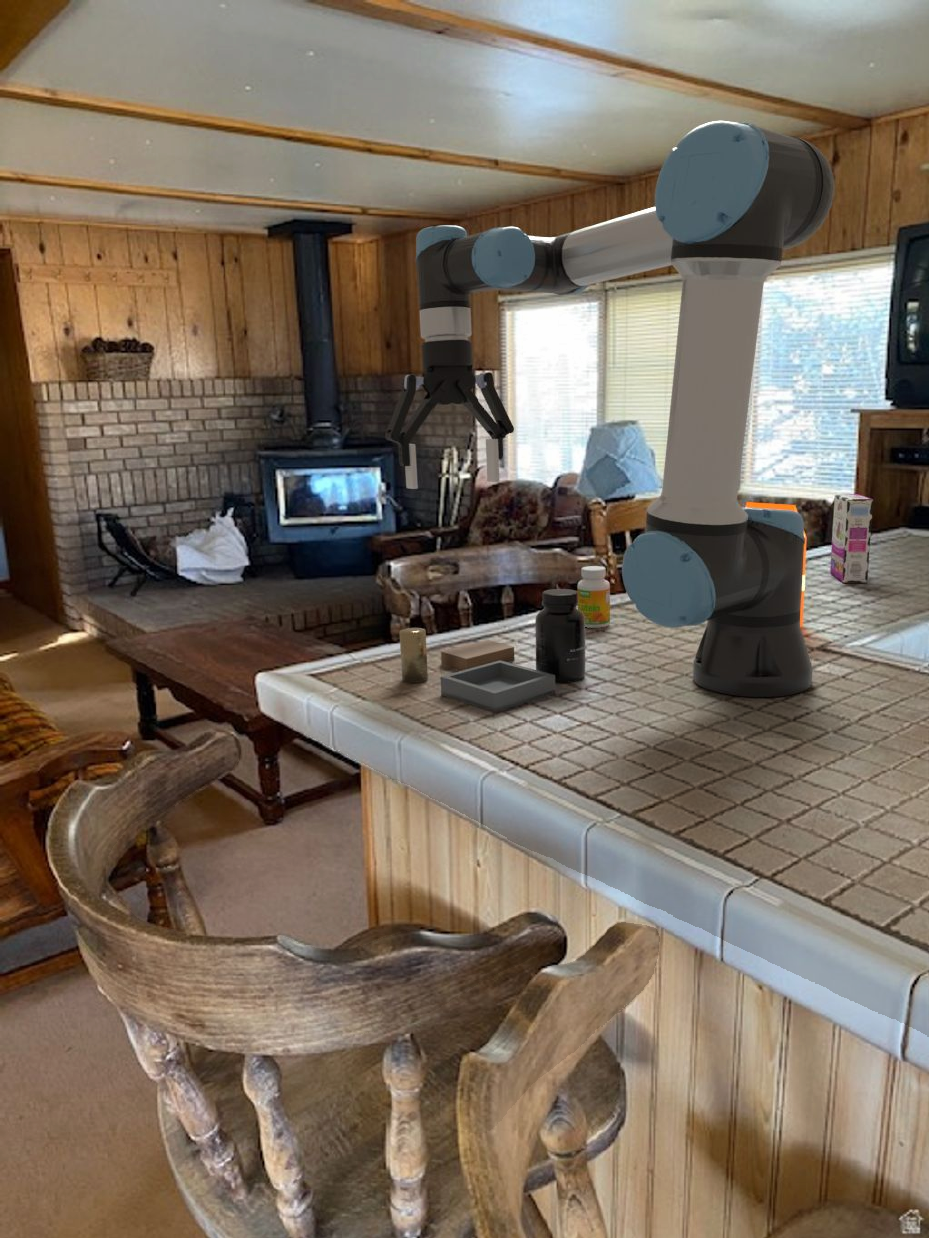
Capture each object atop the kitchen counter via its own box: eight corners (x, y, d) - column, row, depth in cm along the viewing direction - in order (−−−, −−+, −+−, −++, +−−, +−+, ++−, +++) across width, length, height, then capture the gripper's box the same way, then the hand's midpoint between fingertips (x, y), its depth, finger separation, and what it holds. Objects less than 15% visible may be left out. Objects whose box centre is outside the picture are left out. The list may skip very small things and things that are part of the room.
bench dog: (433, 679, 132) (430, 630, 131) (412, 684, 130) (409, 635, 128) (417, 674, 135) (414, 626, 133) (397, 679, 133) (394, 631, 131)
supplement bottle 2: (573, 627, 158) (573, 570, 156) (582, 620, 163) (581, 564, 161) (605, 629, 156) (605, 571, 154) (613, 622, 161) (613, 565, 159)
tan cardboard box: (514, 663, 140) (514, 646, 140) (467, 675, 135) (466, 658, 134) (488, 655, 145) (488, 639, 144) (441, 667, 139) (440, 651, 139)
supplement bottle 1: (583, 684, 127) (582, 597, 124) (533, 683, 128) (531, 596, 126) (587, 670, 134) (586, 586, 131) (539, 669, 135) (537, 586, 132)
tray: (555, 693, 124) (555, 675, 123) (495, 712, 117) (494, 693, 117) (500, 677, 132) (500, 660, 131) (441, 694, 125) (440, 676, 124)
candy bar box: (869, 583, 184) (874, 498, 180) (842, 584, 184) (846, 499, 181) (854, 573, 194) (859, 492, 191) (829, 573, 195) (833, 493, 191)
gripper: (509, 341, 148) (514, 477, 153) (357, 343, 138) (367, 489, 143) (532, 336, 141) (537, 480, 146) (375, 339, 131) (385, 492, 136)
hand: (453, 485), depth 144 cm, fingers open, 13 cm apart
